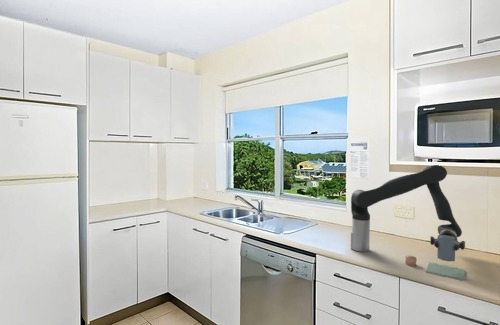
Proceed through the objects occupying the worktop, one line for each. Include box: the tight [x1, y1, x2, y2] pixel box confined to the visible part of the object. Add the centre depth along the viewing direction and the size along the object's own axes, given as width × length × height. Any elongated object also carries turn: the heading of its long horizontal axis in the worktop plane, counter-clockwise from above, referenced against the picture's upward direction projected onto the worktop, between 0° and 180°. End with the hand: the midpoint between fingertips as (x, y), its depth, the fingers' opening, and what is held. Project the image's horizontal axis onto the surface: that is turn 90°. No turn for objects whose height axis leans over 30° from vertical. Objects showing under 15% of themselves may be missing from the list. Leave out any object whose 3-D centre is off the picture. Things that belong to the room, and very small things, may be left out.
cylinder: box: [404, 255, 417, 267], centre depth 141 cm, size 5×5×4 cm
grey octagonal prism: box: [437, 234, 456, 262], centre depth 132 cm, size 6×6×10 cm
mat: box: [425, 262, 466, 281], centre depth 132 cm, size 14×13×1 cm
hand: (446, 246), depth 130 cm, fingers closed on grey octagonal prism, 6 cm apart
